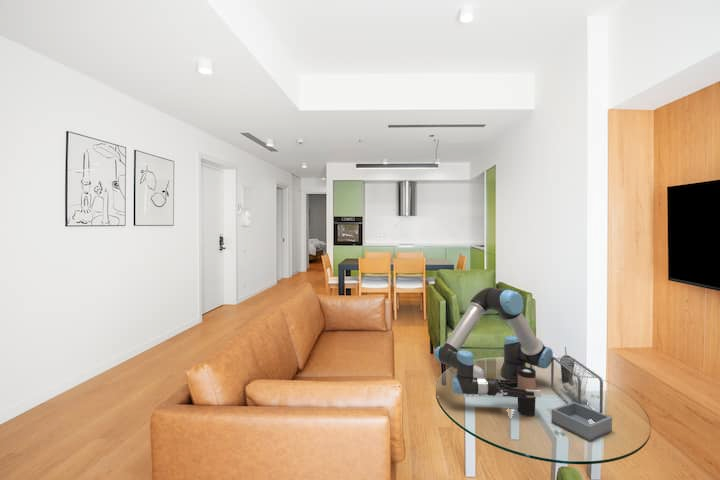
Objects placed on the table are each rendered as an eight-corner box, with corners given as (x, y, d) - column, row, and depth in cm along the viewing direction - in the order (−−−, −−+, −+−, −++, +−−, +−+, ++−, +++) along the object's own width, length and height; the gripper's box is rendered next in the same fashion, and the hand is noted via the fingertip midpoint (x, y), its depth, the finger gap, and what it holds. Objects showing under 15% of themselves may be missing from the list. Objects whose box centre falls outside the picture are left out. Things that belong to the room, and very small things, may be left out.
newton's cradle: (603, 417, 159) (603, 378, 159) (578, 415, 160) (578, 377, 160) (571, 389, 188) (571, 356, 188) (550, 388, 190) (551, 355, 190)
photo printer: (463, 386, 191) (464, 363, 190) (468, 384, 193) (468, 362, 193) (480, 393, 182) (480, 369, 182) (485, 391, 185) (485, 367, 185)
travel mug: (513, 409, 166) (514, 366, 166) (529, 408, 166) (529, 366, 166) (522, 417, 158) (523, 373, 158) (538, 416, 159) (539, 372, 159)
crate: (573, 414, 161) (573, 401, 161) (611, 432, 146) (612, 417, 146) (551, 422, 153) (551, 409, 153) (589, 441, 139) (589, 426, 139)
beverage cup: (569, 387, 191) (569, 350, 191) (556, 382, 197) (557, 346, 197) (577, 384, 194) (577, 348, 194) (564, 379, 201) (565, 345, 201)
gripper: (481, 385, 175) (529, 388, 172) (491, 404, 154) (546, 408, 151) (481, 370, 174) (530, 373, 171) (491, 387, 154) (546, 391, 151)
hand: (537, 389), depth 161 cm, fingers closed on travel mug, 7 cm apart
